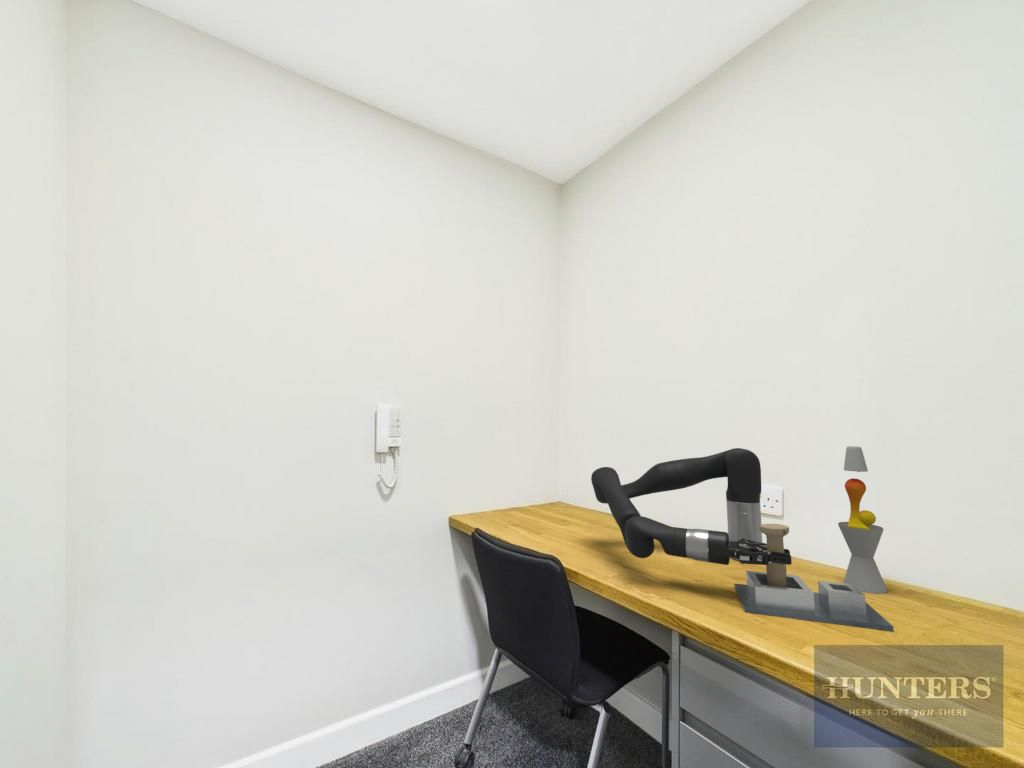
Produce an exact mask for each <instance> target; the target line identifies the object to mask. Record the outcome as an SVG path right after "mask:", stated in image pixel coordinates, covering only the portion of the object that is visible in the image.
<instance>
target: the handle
mask: <svg viewBox="0 0 1024 768" xmlns="http://www.w3.org/2000/svg"><path fill="white" fill-rule="evenodd" d="M760 531H761V532H762V534H764V535H765V537H766V544H767V550H768V551H771V553H772V552H779V553H784V549H785V546H784V537H786V536H787V535H788V534H789V533H790V526H788V525H784V524H779V523H761V525H760ZM765 566H766V568H765V569H766V573H767V579H768V584H769V586H776V587H786V579H787V578H786V577H787V575H788V574H787V564H781V563H774V562H772V563H769V565H765Z"/></svg>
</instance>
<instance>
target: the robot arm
mask: <svg viewBox="0 0 1024 768" xmlns="http://www.w3.org/2000/svg"><path fill="white" fill-rule="evenodd" d="M761 468H762V467H761V462H760V459H759V457H758V455H757V454H756V453H755V452H753V451H752V450H749V449H745V448H741V447H733V448H731V449H728V450H724V451H721V452H718V453H715V454H711V455H705V456H701V457H690V458H681V459H675V460H670V461H669V460H668V461H663V462H659V463H656V464H655V465H653V466H652V467H650V468H649V469H647V471H645V473H643V474H642V475H641V476H640V477H639V478H637V479H635V480H634V481H632V482H629V483H625V484H621V483H622V482H621V479H620V477H619V474H618V473H617V471H616V469H614V468H613V467H610V466H603V467H599V468H596V469H595V470H594V471H593V472H592V474H591V479H590V480H591V485H592V488H593V491H594V495H595V498H596V500H597V502H598V503H601V504H607V505H608V507H609V510H610V512H611V515H612V517H613V519H614V520H615V523H616V525H617V526H618V527H619V529H620V531H621V536H622V538H623V542H624V544H625V547H626V549H627V550H628V551H629V553H630V554H631V555H632V556H634V557H635V558H639V559H647V558H650V556H652V554H653V553H654V550H655V540H656V541H657V542H659V544H660V545H661V548H662V550H663V552H664V553H665V554H666V555H668V556H672V557H679V558H686V559H691V560H694V561H698V562H705V563H710V564H711V563H712V564H718V565H723V566H728V565H729V564H730V560H731V559H733V560H736V561H739V563H740V564H741V565H760V566H761V565H762V566H763V565H764V566H766V565H769V563H772V562H774V563H781V564H786V565H788V566H791V565H792V563H793V562H792V555H791V551H790V550H789V549H788V548H784V553H779V552H772V553H771V551H768V550H767V543H765V542H763V533H762V532H761V531H760V525H761V524H762V512H761V494H762V469H761ZM718 478H719V479H720V478H727V487H726V491H725V496H726V497H725V498H726V499H725V500H726V515H727V516H726V518H727V531H719V530H712V529H711V530H709V529H703V528H685V527H684V528H683V527H676V526H671V525H668V524H665V523H662V522H659V521H657V520H655V519H652V518H650V517H646V516H642V515H641V513H640V511H639V510H638V509H637V507H636V506H635V505H634V503H633V502H632V501H631V499H634V498H637V497H642V496H646V495H650V494H651V495H652V494H658V493H661V492H662V493H663V492H669V491H676V490H682V489H687V488H690V487H692V486H695V485H698V484H700V483H703V482H705V481H709V480H712V479H718Z"/></svg>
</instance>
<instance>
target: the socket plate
mask: <svg viewBox="0 0 1024 768" xmlns="http://www.w3.org/2000/svg"><path fill="white" fill-rule="evenodd" d="M745 572H746V573H745V576H746V577H745V579H746V584H742V583H734V584H733V585H734V589H735V592H736V593H737V596H738V599H739V601H740V603H741V606H742V608H743V610H744V612H745V613H747V612H748V614H749V613H750V614H755V615H757V614H758V615H764V616H770V617H771V616H773V617H779V618H788V619H793V620H794V619H795V620H803V621H811V622H819V623H826V624H832V623H833V624H834V625H840V626H849V627H857V628H864V629H865V628H866V629H873V630H880V631H886V632H888V631H889V632H894V625H892V624H891V623H890V622H889V621H888V620H887V619H886V618H884V616H882V615H881V614H880V613H879V612H877V610H876V609H874V608H873V607H872V606H871V605H870V604H868V602H866V595H865V593H864V592H862V591H860V590H858V589H857V588H856V587H855V586H854V585H852V584H845V583H843V582H834V581H824V580H817V585H818V586H817V587H818V589H817V590H818V591H817V592H816V591H812V589H811V588H810V587H809V586H808V585H807V584H806V583H805V582H804V581H803V579H802V578H801V577H800V576H799V575H793V574H792V575H791V574H786V575H787V577H786V578H787V579H786V587H776V586H769V584H768V579H767V572H764V571H753V570H745Z"/></svg>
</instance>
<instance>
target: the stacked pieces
mask: <svg viewBox="0 0 1024 768" xmlns="http://www.w3.org/2000/svg"><path fill="white" fill-rule="evenodd" d="M843 471H846V472H847V471H848V472H856V473H860V472H863V473H865V472H869V470H868V466H867V463H866V459H865V454H864V453H863V449H862V447H861V446H852V445H851V446H846V449H845V457H844V465H843ZM844 488H845V492H846V494H847V497H848V500H849V503H850V504H849V506H850V514H849V519H848V521H840V522H837V524H838V528H839V530H840V532H841V534H842V536H843V539H844V540H845V543H846V545H847V547H848V549H849V551H850V553H851V556H850V558H849V562H848V565H847V569H846V572H845V576H844V578H843V581H842V583H845V584H852V585H854V586H855V587H856V588H857V589H858V590H860V591H861V592H862V593H869V594H879V595H880V594H882V595H883V594H887V593H888V592H889V590H888V589H887V588H888V587H886V584H885V581H884V579H883V577H882V574H881V573H880V570H879V567H878V566H877V563H876V561H875V559H874V557H875V554H876V551H877V549H878V546H879V543H880V540H881V537H882V535H883V532H884V528H883V527H882V526H879V525H875V523H876V521H877V518H876V515H875V514H874V513H873V512H872V511H870V510H864V509H863V510H861V511H860V504H861V501H862V499H863V496H864V495H865V493H866V492H867V486H866V484H865V482H864V481H862V480H861V479H859V478H849V479H847V480H846V482H844Z"/></svg>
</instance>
